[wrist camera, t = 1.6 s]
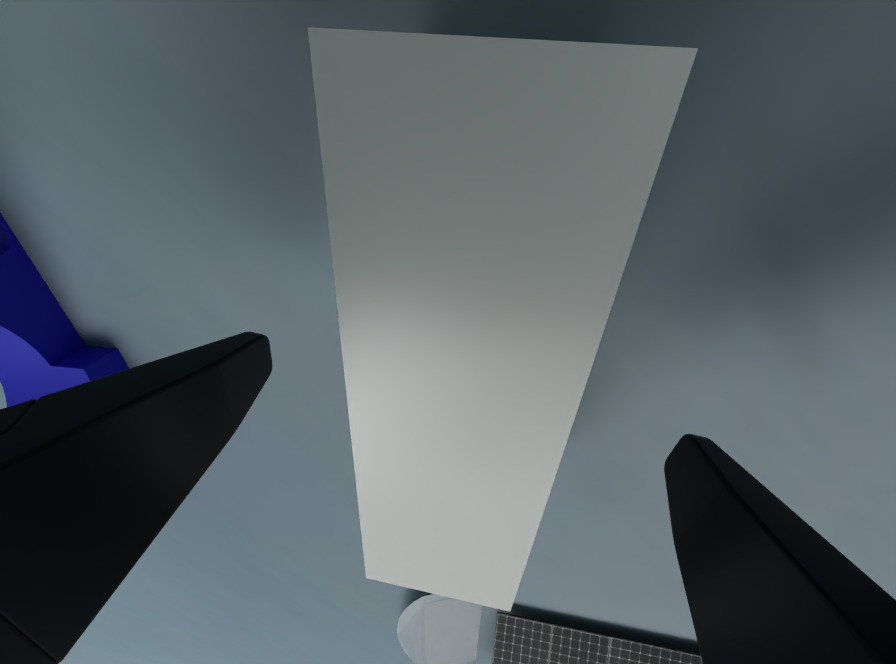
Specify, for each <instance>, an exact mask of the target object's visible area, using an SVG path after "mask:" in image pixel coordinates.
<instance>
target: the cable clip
mask: <svg viewBox="0 0 896 664" xmlns="http://www.w3.org/2000/svg"><path fill="white" fill-rule="evenodd" d="M127 369H129V367H128V366H127V364H126V362H125V360H124V359H123V357H122V355H121V354H120V352H119V350H118V349H115V348H103V347H90V346H86V345H85V343H84V342H83V340H82V339H81V337H80V336H79V334H78V333H77V331H76V330H75V328H74V326H73V325H72V323H71V322H70V320H69V319H68V317H67V316H66V314H65V312H64V311H63V309H62V308H61V306H60V305H59V303H58V302H57V300H56V298H55V297H54V295H53V294H52V292H51V291H50V289H49V288H48V286H47V284H46V283H45V281H44V280H43V278H42V277H41V275H40V274H39V272H38V270H37V269H36V267H35V266H34V264H33V263H32V261H31V260H30V258H29V257H28V255H27V253H26V252H25V250H24V249H23V247H22V246H21V244H20V243H19V241H18V239H17V238H16V236H15V235H14V233H13V232H12V230H11V229H10V227H9V225H8V224H7V222H6V221H5V219H4V218H3V216H2V215H1V213H0V381H1V383H2V386H3V389H4V392H5V396H6V402H7V407H10V406H13V405H16V404H19V403H22V402H26V401H29V400H32V399H36V400H38V398H40V397H42V396H45V395H48V394H51V393H54V392H58V391H61V390H64V389H67V388H70V387H73V386H77V385H80V384H83V383H86V382H89V381H92V380H96V379H99V378H102V377H105V376H108V375H111V374H115V373H118V372H121V371H124V370H127Z"/></svg>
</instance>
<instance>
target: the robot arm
mask: <svg viewBox="0 0 896 664" xmlns="http://www.w3.org/2000/svg"><path fill="white" fill-rule="evenodd" d="M271 371H272V358H271V350H270V343H269V339H268V337H267V336H265V335H263V334H259V333H254V332H244V333H241V334H238V335H235V336H232V337H228V338H225V339H222V340H219V341H216V342H213V343H209V344H206V345H203V346H200V347H197V348H194V349H190V350H187V351H184V352H181V353H178V354H175V355H171V356H168V357H165V358H162V359H159V360H156V361H152V362H149V363H146V364H143V365H140V366H137V367H133V368H130V369H127V370H124V371H121V372H118V373H115V374H111V375H108V376H105V377H102V378H99V379H96V380H92V381H89V382H86V383H83V384H80V385H77V386H73V387H70V388H67V389H64V390H61V391H58V392H54V393H51V394H48V395H45V396H42V397H40V398H38V400H36V399H32V400H29V401H26V402H22V403H19V404H16V405H13V406H10V407H7V408H4V409H0V664H58V663H59V662H61V661H62V660H63V659H64V657H65V656H66V655H67V653H68V652H69V651H70V649H71V648H72V647H73V646H74V644H75V643H76V642H77V640H78V639H79V638H80V636H81V635H82V634H83V632H84V631H85V630H86V628H87V627H88V626H89V624H90V623H91V622H92V620H93V619H94V618H95V617H96V615H97V614H98V613H99V611H100V610H101V609H102V607H103V606H104V605H105V603H106V602H107V601H108V599H109V598H110V597H111V595H112V594H113V593H114V591H115V590H116V589H117V588H118V586H119V585H120V584H121V582H122V581H123V580H124V578H125V577H126V576H127V574H128V573H129V572H130V570H131V569H132V568H133V566H134V565H135V564H136V562H137V561H138V560H139V558H140V557H141V556H142V555H143V553H144V552H145V551H146V549H147V548H148V547H149V545H150V544H151V543H152V541H153V540H154V539H155V537H156V536H157V535H158V533H159V532H160V531H161V529H162V528H163V527H164V526H165V524H166V523H167V522H168V520H169V519H170V518H171V516H172V515H173V514H174V512H175V511H176V510H177V508H178V507H179V506H180V504H181V503H182V502H183V500H184V499H185V498H186V496H187V495H188V494H189V493H190V491H191V490H192V489H193V487H194V486H195V485H196V483H197V482H198V481H199V479H200V478H201V477H202V475H203V474H204V473H205V471H206V470H207V469H208V467H209V466H210V465H211V464H212V462H213V461H214V460H215V458H216V457H217V456H218V454H219V453H220V452H221V450H222V449H223V448H224V446H225V445H226V444H227V442H228V441H229V440H230V438H231V437H232V436H233V434H234V433H235V431H236V430H237V428H238V427H239V425H240V424H241V422H242V421H243V419H244V417H245V416H246V414H247V412H248V411H249V409H250V407H251V406H252V404H253V402H254V401H255V399H256V397H257V396H258V394H259V392H260V391H261V389H262V387H263V386H264V384H265V382H266V381H267V379H268V377H269V376H270V374H271ZM664 472H665V480H666V487H667V495H668V502H669V510H670V518H671V525H672V533H673V539H674V544H675V549H676V554H677V558H678V562H679V566H680V571H681V575H682V579H683V583H684V587H685V591H686V595H687V599H688V604H689V608H690V612H691V616H692V620H693V624H694V628H695V633H696V637H697V641H698V645H699V649H700V653H701V657H702V662H703V664H896V600H895V599H894V598H892V597H891V596H890V595H889V594H888V593H887V592H886V591H884V590H883V589H882V588H881V587H880V586H879V585H877V584H876V583H875V582H874V581H873V580H872V579H871V578H869V577H868V576H867V575H866V574H865V573H864V572H862V571H861V570H860V569H859V568H858V567H857V566H856V565H854V564H853V563H852V562H851V561H850V560H849V559H848V558H846V557H845V556H844V555H843V554H842V553H841V552H839V551H838V550H837V549H836V548H835V547H834V546H833V545H831V544H830V543H829V542H828V541H827V540H826V539H824V538H823V537H822V536H821V535H820V534H819V533H818V532H816V531H815V530H814V529H813V528H812V527H811V526H809V525H808V524H807V523H806V522H805V521H804V520H803V519H801V518H800V517H799V516H798V515H797V514H796V513H795V512H793V511H792V510H791V509H790V508H789V507H788V506H786V505H785V504H784V503H783V502H782V501H781V500H780V499H778V498H777V497H776V496H775V495H774V494H773V493H771V492H770V491H769V490H768V489H767V488H766V487H765V486H763V485H762V484H761V483H760V482H759V481H758V480H757V479H755V478H754V477H753V476H752V475H751V474H750V473H748V472H747V471H746V470H745V469H744V468H743V467H742V466H740V465H739V464H738V463H737V462H736V461H735V460H734V459H732V458H731V457H730V456H729V455H728V454H727V453H725V452H724V451H723V450H722V449H721V448H720V447H719V446H717V445H716V444H715V443H714V442H713V441H712V440H710V439H708V438H706V437H702V436H697V435H693V434H686V435H684V436H682V438H681V439H680V440H679V442H678V443H677V445H676V446H675V447H674V449H673V450H672V452H671V453H670V454H669V456H668V457H667V459H666V462H665V466H664Z"/></svg>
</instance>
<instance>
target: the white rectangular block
mask: <svg viewBox="0 0 896 664" xmlns="http://www.w3.org/2000/svg"><path fill="white" fill-rule="evenodd" d="M308 36H309V46H310V55H311V64H312V74H313V83H314V93H315V102H316V111H317V121H318V130H319V140H320V149H321V158H322V168H323V177H324V187H325V196H326V205H327V215H328V224H329V234H330V243H331V252H332V262H333V271H334V281H335V290H336V299H337V309H338V318H339V328H340V337H341V346H342V356H343V365H344V375H345V384H346V393H347V403H348V412H349V422H350V431H351V440H352V450H353V459H354V469H355V478H356V487H357V497H358V506H359V516H360V525H361V534H362V544H363V553H364V563H365V572H366V578H368V579H373V580H377V581H381V582H385V583H390V584H394V585H398V586H402V587H407V588H411V589H415V590H420V591H424V592H428V593H432V594H437V595H441V596H445V597H449V598H454V599H458V600H462V601H467V602H471V603H475V604H479V605H484V606H488V607H492V608H496V609H501V610H505V611H509V612H510V611H511V608H512V605H513V602H514V599H515V596H516V593H517V590H518V587H519V584H520V581H521V578H522V575H523V572H524V569H525V566H526V563H527V560H528V557H529V554H530V551H531V548H532V545H533V542H534V539H535V536H536V533H537V530H538V527H539V524H540V521H541V518H542V515H543V512H544V509H545V506H546V503H547V500H548V497H549V494H550V491H551V488H552V485H553V482H554V479H555V476H556V473H557V470H558V467H559V464H560V461H561V458H562V455H563V452H564V449H565V446H566V443H567V440H568V437H569V434H570V431H571V428H572V425H573V422H574V419H575V416H576V413H577V410H578V407H579V404H580V401H581V398H582V395H583V392H584V389H585V386H586V383H587V380H588V377H589V374H590V371H591V368H592V365H593V362H594V359H595V356H596V353H597V350H598V347H599V344H600V341H601V338H602V335H603V332H604V329H605V326H606V323H607V320H608V317H609V314H610V311H611V308H612V305H613V302H614V299H615V296H616V293H617V290H618V287H619V284H620V281H621V278H622V275H623V272H624V269H625V266H626V263H627V260H628V257H629V254H630V251H631V248H632V245H633V242H634V239H635V236H636V233H637V230H638V227H639V224H640V221H641V218H642V215H643V212H644V209H645V206H646V203H647V200H648V197H649V194H650V191H651V188H652V185H653V182H654V179H655V176H656V173H657V170H658V167H659V164H660V161H661V158H662V155H663V152H664V149H665V146H666V143H667V140H668V137H669V134H670V131H671V128H672V125H673V122H674V119H675V116H676V113H677V110H678V107H679V104H680V101H681V98H682V95H683V92H684V89H685V86H686V83H687V80H688V77H689V74H690V71H691V68H692V65H693V62H694V59H695V56H696V53H697V50H698V48H683V47H665V46H646V45H628V44H609V43H591V42H572V41H553V40H535V39H516V38H498V37H479V36H461V35H442V34H424V33H405V32H387V31H368V30H350V29H331V28H312V27H308Z"/></svg>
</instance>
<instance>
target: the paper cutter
mask: <svg viewBox="0 0 896 664" xmlns="http://www.w3.org/2000/svg"><path fill="white" fill-rule="evenodd" d="M481 611H482V605H479V604H475V603H471V602H467V601H462V600H458V599H454V598H449V597H445V596H441V595H437V594H432V595H427V596H422V597H421V598H419V599H417V600H416V601H414V602H413V603H412V604H410V605H409V606H408V607H407V608H406V609H405V610H404V612H403V613H402V614H401V616H400V618H399V621H398V625H397V635H398V639H399V642H400V644H401V646H402V648H403V650H404V651H405V653H406V654H407V656H408V657H409V658H410V659H411V660H412V662H413V663H414V664H475V662H476V653H477V645H478V636H479V628H480V619H481ZM492 664H703V662H702V657H701V655H700V654H696V653H691V652H686V651H681V650H677V649H672V648H667V647H663V646H658V645H653V644H648V643H644V642H639V641H634V640H629V639H625V638H620V637H615V636H611V635H606V634H601V633H596V632H592V631H587V630H582V629H577V628H573V627H568V626H563V625H558V624H554V623H549V622H544V621H540V620H535V619H530V618H525V617H521V616H516V615H511V614H506V613H502V612H497V621H496V631H495V640H494V650H493V660H492Z"/></svg>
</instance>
